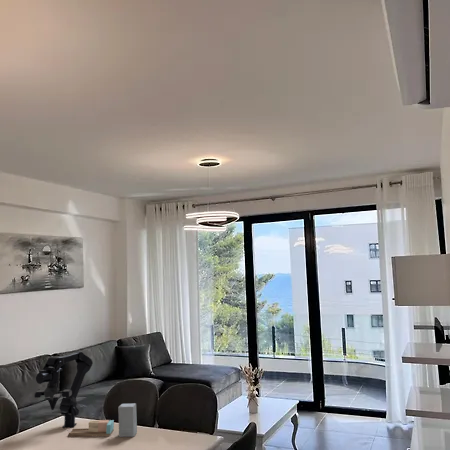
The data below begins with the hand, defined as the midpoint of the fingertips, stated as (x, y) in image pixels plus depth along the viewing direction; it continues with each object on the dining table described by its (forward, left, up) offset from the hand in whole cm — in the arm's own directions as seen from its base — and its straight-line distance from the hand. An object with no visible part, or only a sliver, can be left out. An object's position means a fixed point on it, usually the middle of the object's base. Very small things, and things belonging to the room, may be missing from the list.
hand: (52, 409), depth 252 cm
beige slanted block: (+3, +23, -11) cm, 26 cm away
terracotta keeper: (+3, +29, -11) cm, 31 cm away
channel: (+3, +22, -12) cm, 25 cm away
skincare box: (+7, +42, -12) cm, 44 cm away
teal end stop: (+3, +32, -11) cm, 34 cm away
